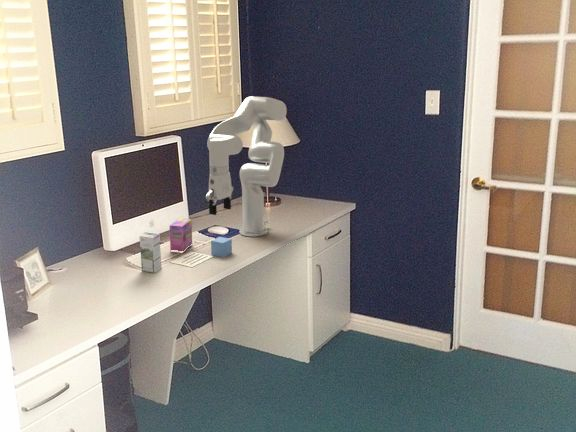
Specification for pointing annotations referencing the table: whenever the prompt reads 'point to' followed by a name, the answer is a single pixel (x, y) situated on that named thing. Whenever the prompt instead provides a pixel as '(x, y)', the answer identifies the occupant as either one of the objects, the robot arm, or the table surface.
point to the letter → (191, 259)
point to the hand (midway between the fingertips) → (220, 211)
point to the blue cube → (221, 246)
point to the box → (181, 234)
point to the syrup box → (150, 252)
